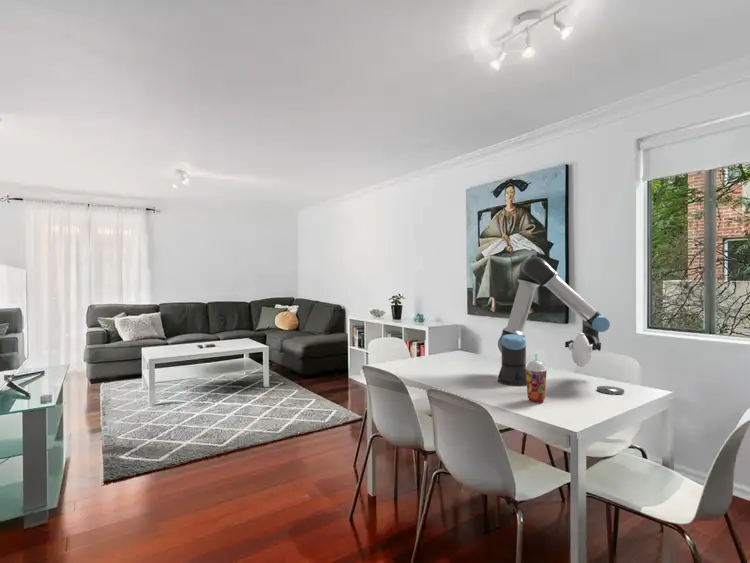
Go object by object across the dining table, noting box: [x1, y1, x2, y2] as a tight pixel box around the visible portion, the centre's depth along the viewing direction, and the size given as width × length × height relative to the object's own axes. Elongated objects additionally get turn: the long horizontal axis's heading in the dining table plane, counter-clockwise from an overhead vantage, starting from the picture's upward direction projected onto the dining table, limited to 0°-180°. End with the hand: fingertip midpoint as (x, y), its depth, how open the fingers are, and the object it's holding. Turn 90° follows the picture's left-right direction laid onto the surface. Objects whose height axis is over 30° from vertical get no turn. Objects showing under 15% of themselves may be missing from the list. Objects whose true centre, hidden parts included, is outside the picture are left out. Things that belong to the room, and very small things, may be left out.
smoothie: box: [526, 353, 547, 404], centre depth 180 cm, size 8×8×20 cm
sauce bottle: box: [571, 327, 592, 368], centre depth 197 cm, size 8×8×18 cm
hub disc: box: [596, 385, 625, 396], centre depth 197 cm, size 11×11×1 cm
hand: (579, 348), depth 193 cm, fingers closed on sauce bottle, 8 cm apart
